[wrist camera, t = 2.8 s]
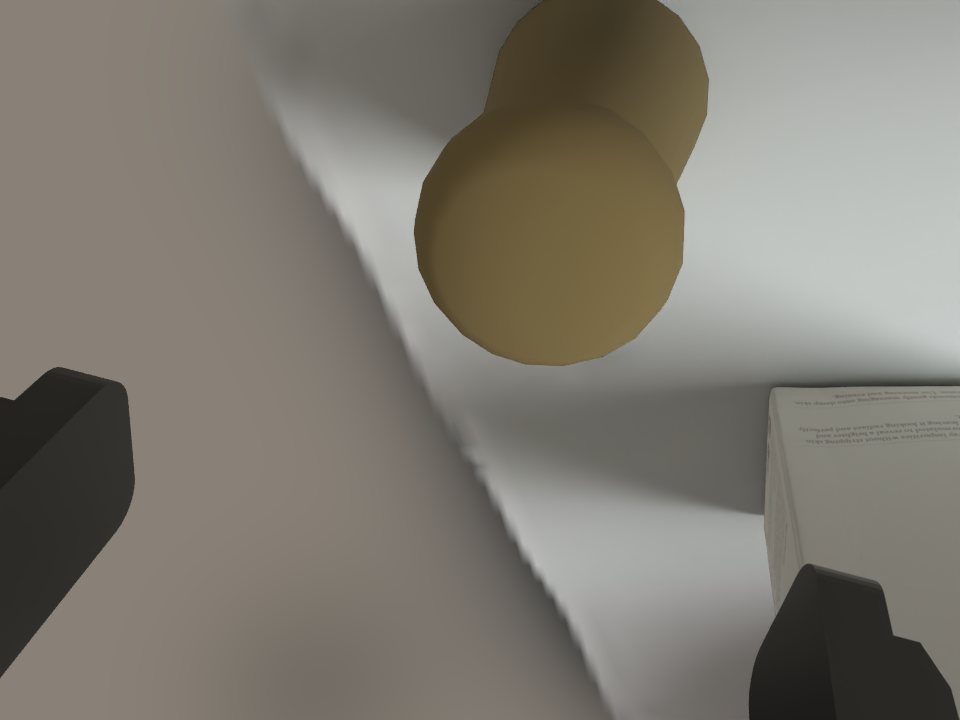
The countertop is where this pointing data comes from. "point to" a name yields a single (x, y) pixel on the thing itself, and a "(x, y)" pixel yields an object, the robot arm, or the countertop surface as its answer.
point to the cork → (567, 184)
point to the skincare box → (872, 501)
